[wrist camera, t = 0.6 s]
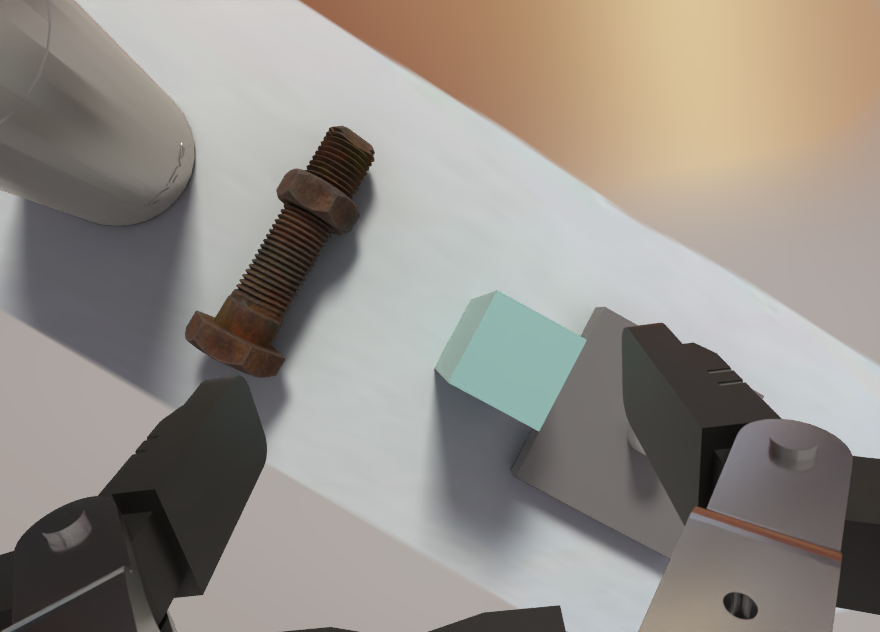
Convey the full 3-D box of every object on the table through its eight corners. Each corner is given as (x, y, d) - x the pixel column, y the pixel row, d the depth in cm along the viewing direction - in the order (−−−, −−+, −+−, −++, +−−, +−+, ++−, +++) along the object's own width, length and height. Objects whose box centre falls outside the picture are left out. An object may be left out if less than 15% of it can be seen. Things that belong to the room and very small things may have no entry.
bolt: (368, 165, 36) (254, 361, 35) (305, 117, 34) (179, 328, 32) (408, 162, 32) (279, 389, 30) (338, 105, 29) (192, 352, 28)
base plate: (510, 470, 35) (527, 492, 30) (595, 307, 36) (624, 304, 31) (668, 554, 36) (707, 587, 31) (748, 393, 36) (798, 402, 32)
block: (434, 367, 35) (448, 382, 26) (471, 299, 35) (497, 290, 26) (502, 404, 35) (539, 431, 26) (538, 336, 35) (587, 339, 26)
